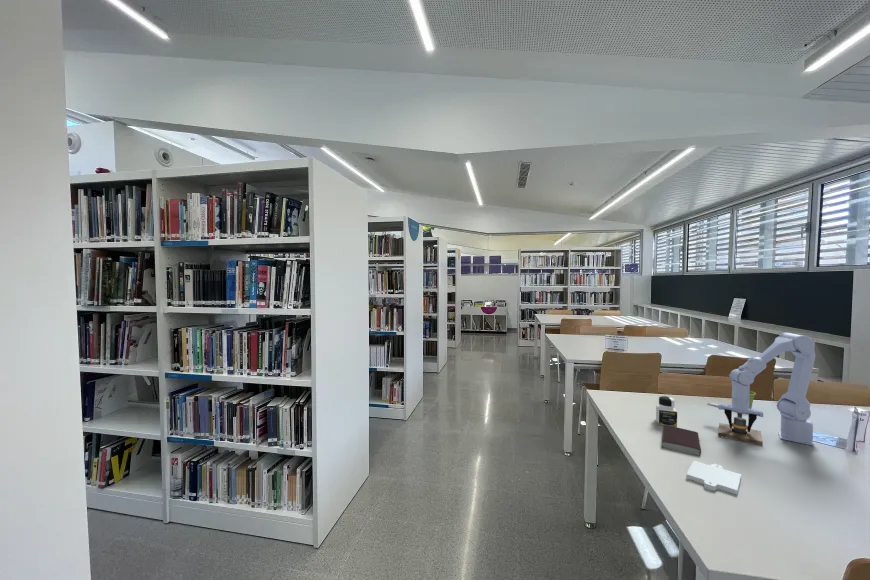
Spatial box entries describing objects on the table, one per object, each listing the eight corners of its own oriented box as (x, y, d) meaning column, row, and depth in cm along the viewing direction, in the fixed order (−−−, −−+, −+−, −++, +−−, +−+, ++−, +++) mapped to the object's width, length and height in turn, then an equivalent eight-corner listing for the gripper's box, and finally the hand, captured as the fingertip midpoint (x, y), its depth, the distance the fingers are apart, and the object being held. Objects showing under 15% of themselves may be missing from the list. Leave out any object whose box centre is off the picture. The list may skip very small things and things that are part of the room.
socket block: (760, 434, 154) (761, 417, 154) (762, 445, 144) (763, 426, 144) (719, 425, 163) (719, 409, 163) (718, 435, 153) (718, 418, 153)
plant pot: (727, 404, 193) (727, 388, 193) (746, 405, 192) (747, 389, 191) (739, 410, 184) (740, 393, 183) (760, 411, 182) (760, 394, 182)
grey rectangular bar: (744, 413, 158) (744, 410, 158) (742, 414, 156) (742, 411, 156) (709, 404, 169) (709, 401, 169) (706, 405, 168) (707, 402, 168)
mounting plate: (694, 463, 130) (694, 458, 130) (741, 477, 121) (741, 471, 121) (684, 482, 117) (684, 476, 117) (736, 499, 108) (736, 493, 108)
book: (698, 438, 151) (698, 431, 151) (701, 457, 135) (701, 448, 135) (662, 432, 158) (663, 424, 158) (661, 448, 142) (661, 440, 142)
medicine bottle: (658, 424, 164) (659, 398, 164) (655, 419, 171) (656, 394, 171) (677, 427, 162) (677, 400, 161) (673, 421, 168) (673, 396, 168)
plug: (747, 434, 154) (747, 418, 154) (747, 438, 150) (748, 422, 150) (731, 431, 157) (732, 415, 157) (731, 435, 153) (732, 419, 153)
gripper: (718, 396, 155) (717, 427, 155) (764, 404, 146) (763, 437, 146) (719, 392, 160) (718, 422, 161) (763, 399, 151) (762, 431, 151)
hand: (739, 429), depth 154 cm, fingers closed on plug, 5 cm apart
